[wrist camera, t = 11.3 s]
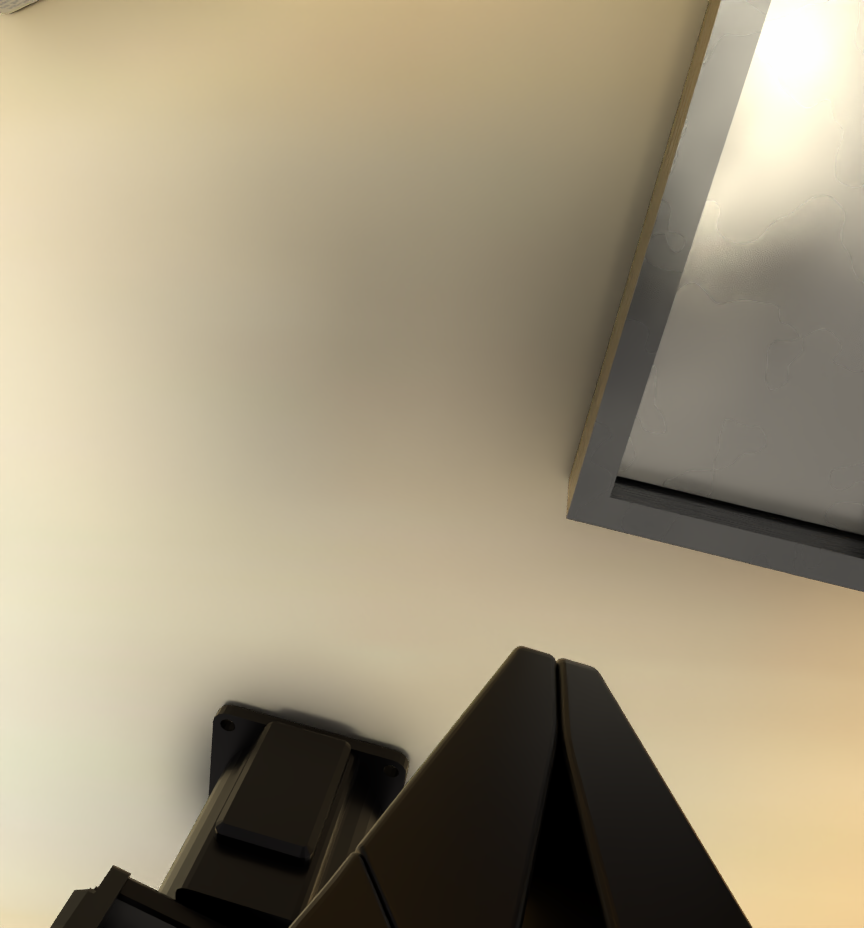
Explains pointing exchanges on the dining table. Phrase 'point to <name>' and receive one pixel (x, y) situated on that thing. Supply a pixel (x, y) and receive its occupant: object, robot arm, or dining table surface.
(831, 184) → the grey shallow square tray
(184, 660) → the dining table surface
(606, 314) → the dining table surface
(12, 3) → the light bulb box
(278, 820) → the robot arm
